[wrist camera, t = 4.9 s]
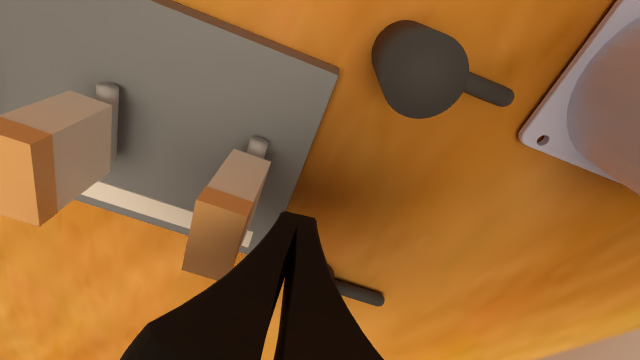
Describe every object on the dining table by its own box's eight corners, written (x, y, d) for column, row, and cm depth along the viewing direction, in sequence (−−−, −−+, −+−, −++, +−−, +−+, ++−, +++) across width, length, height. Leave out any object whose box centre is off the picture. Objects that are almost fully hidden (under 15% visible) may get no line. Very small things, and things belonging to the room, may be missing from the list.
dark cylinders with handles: (540, 76, 14) (616, 108, 10) (374, 308, 22) (381, 376, 18) (388, 9, 13) (406, 17, 9) (274, 277, 21) (258, 341, 17)
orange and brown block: (133, 91, 14) (29, 139, 9) (128, 161, 15) (40, 230, 11) (93, 76, 13) (-32, 119, 9) (93, 149, 15) (-12, 215, 11)
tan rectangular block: (278, 144, 14) (249, 212, 10) (258, 205, 16) (225, 286, 12) (243, 131, 14) (196, 195, 10) (227, 194, 16) (180, 273, 12)
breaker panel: (338, 67, 14) (338, 76, 13) (271, 242, 20) (265, 261, 18) (-89, -105, 12) (-144, -117, 11) (-33, 144, 18) (-65, 157, 16)
